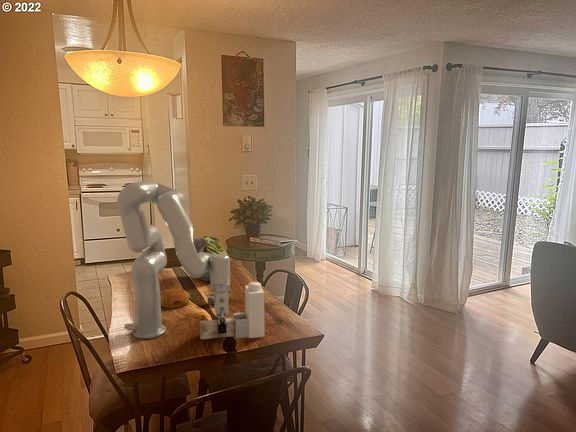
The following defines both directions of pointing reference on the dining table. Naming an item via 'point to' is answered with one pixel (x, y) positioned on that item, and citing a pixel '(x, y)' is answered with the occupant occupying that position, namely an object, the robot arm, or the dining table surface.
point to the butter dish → (210, 298)
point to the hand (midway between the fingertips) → (221, 328)
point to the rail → (211, 328)
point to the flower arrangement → (207, 250)
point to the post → (251, 313)
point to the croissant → (174, 298)
